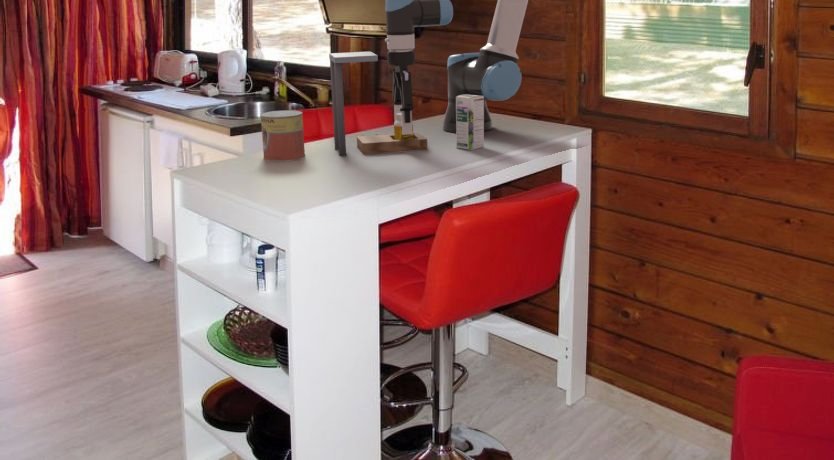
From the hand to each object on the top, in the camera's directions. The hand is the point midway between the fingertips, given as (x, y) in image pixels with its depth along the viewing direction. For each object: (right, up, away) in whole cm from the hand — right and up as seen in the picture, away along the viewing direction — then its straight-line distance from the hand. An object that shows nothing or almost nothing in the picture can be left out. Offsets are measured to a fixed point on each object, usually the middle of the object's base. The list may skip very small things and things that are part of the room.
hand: (403, 131), depth 260 cm
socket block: (-3, -5, +1) cm, 6 cm away
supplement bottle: (0, -5, +1) cm, 5 cm away
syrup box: (+19, -5, -1) cm, 19 cm away
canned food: (-32, -8, -7) cm, 34 cm away
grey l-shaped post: (-13, -6, -1) cm, 14 cm away
